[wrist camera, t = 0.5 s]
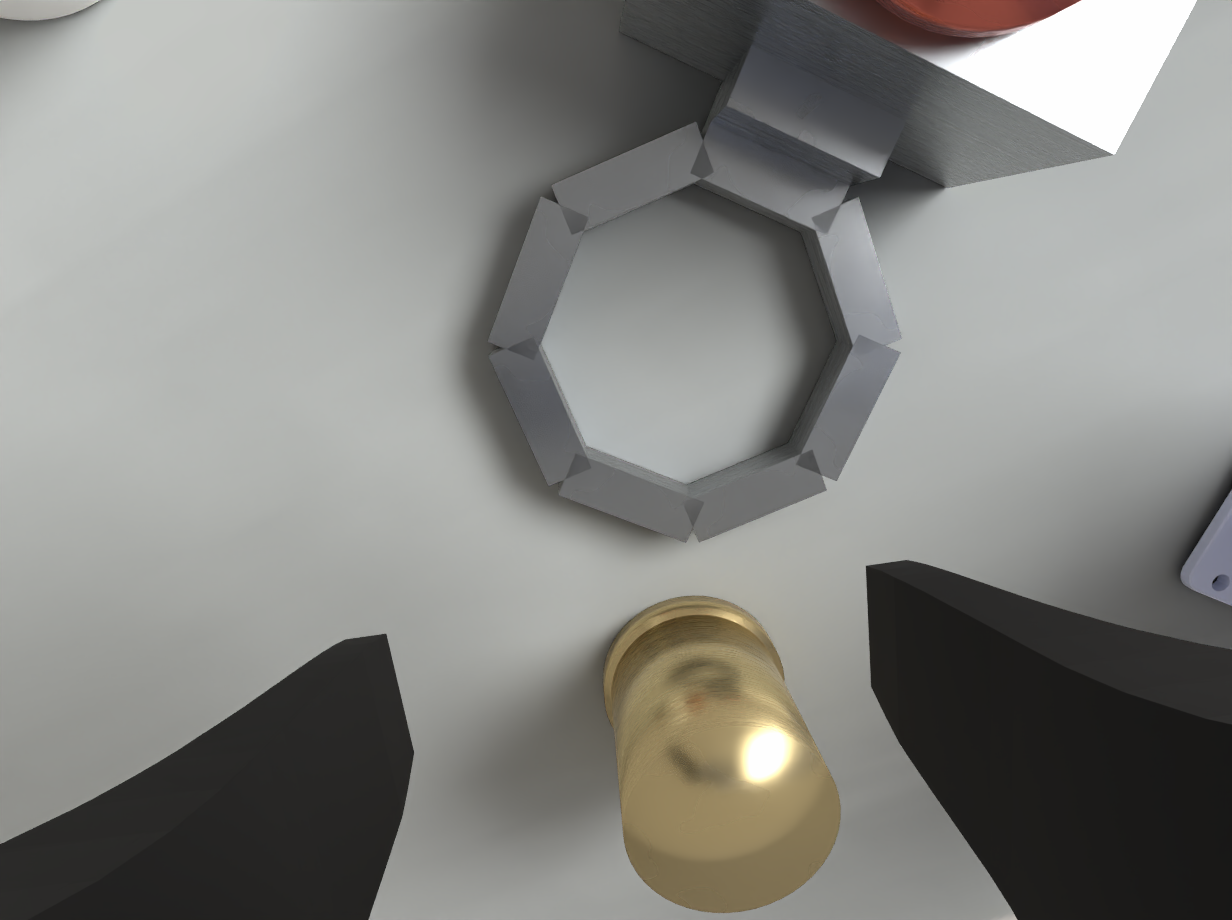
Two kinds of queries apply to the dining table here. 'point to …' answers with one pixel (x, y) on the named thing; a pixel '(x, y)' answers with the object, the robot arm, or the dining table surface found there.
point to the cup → (41, 8)
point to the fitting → (714, 759)
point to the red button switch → (823, 190)
